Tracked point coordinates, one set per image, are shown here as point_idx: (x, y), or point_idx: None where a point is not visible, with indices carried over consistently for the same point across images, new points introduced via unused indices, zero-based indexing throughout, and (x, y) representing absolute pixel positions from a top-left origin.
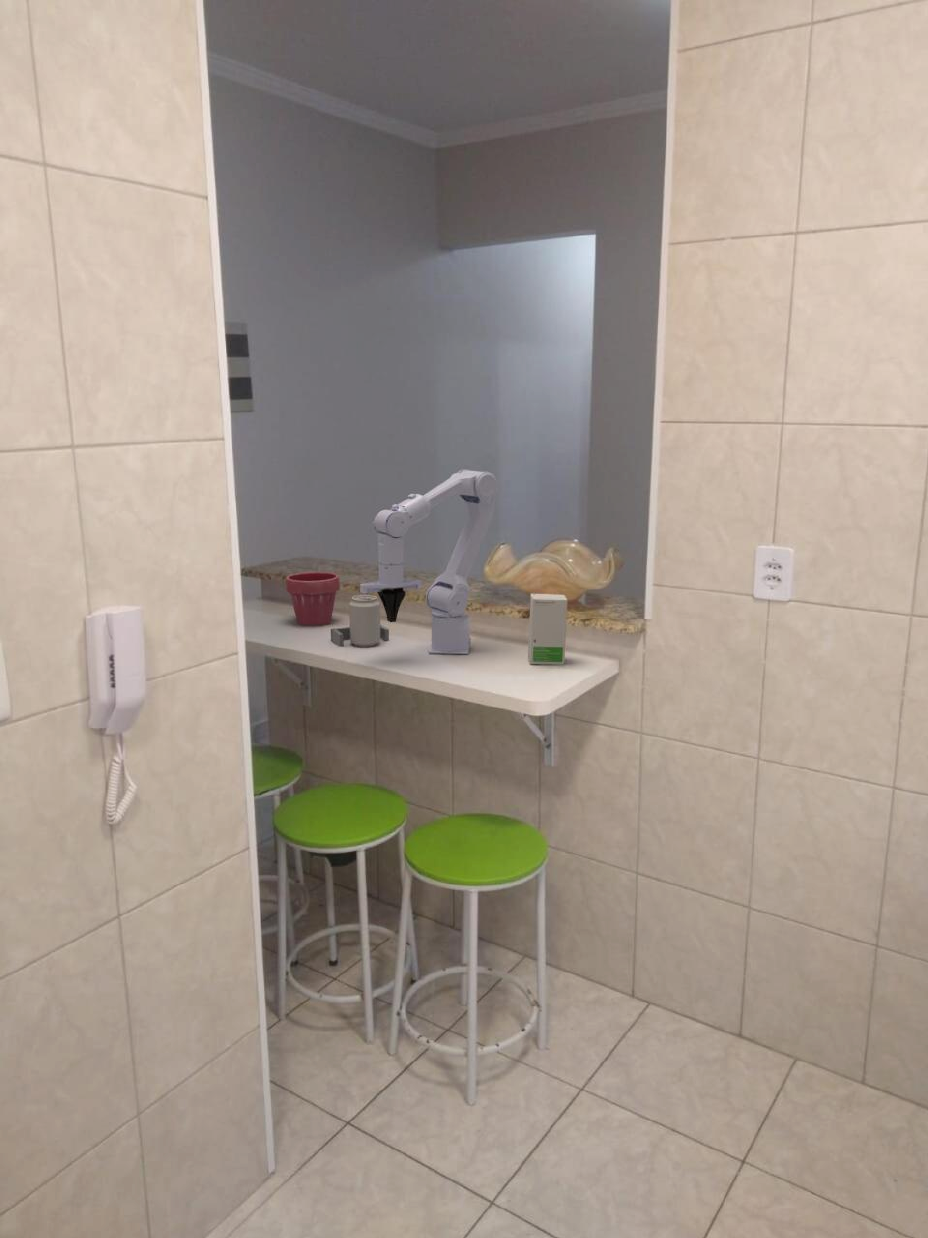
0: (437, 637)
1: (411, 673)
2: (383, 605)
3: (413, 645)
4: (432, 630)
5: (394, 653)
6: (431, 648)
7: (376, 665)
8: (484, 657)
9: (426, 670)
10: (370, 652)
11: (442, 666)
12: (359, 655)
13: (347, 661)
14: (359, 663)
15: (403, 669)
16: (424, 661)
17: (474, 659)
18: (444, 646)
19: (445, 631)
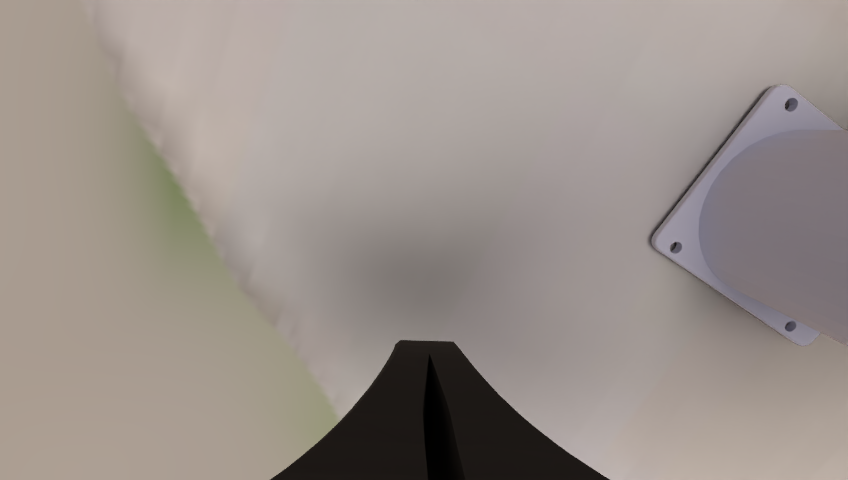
0: (761, 277)
1: None
2: (339, 423)
3: (684, 19)
4: (798, 230)
5: (493, 136)
6: (704, 192)
7: (309, 304)
8: (823, 408)
9: None
10: (377, 43)
11: (576, 446)
12: (292, 76)
13: (188, 165)
14: (239, 232)
15: None
16: (551, 346)
17: (764, 416)
18: (743, 291)
19: (831, 336)
